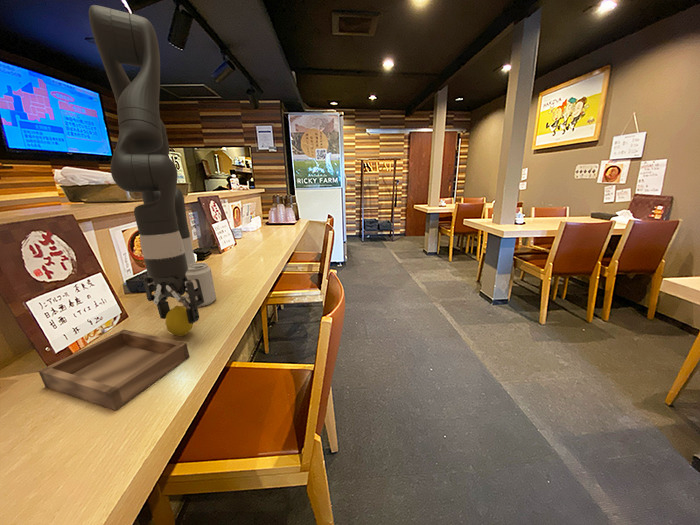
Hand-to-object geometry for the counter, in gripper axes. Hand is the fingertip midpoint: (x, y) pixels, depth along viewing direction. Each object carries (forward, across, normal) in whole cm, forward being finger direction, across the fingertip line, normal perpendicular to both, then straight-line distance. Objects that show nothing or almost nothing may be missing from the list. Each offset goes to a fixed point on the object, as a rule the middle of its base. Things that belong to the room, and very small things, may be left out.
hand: (179, 319), depth 63 cm
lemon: (+5, 0, 0) cm, 5 cm away
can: (+5, +10, -16) cm, 20 cm away
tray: (+5, +1, +13) cm, 14 cm away
